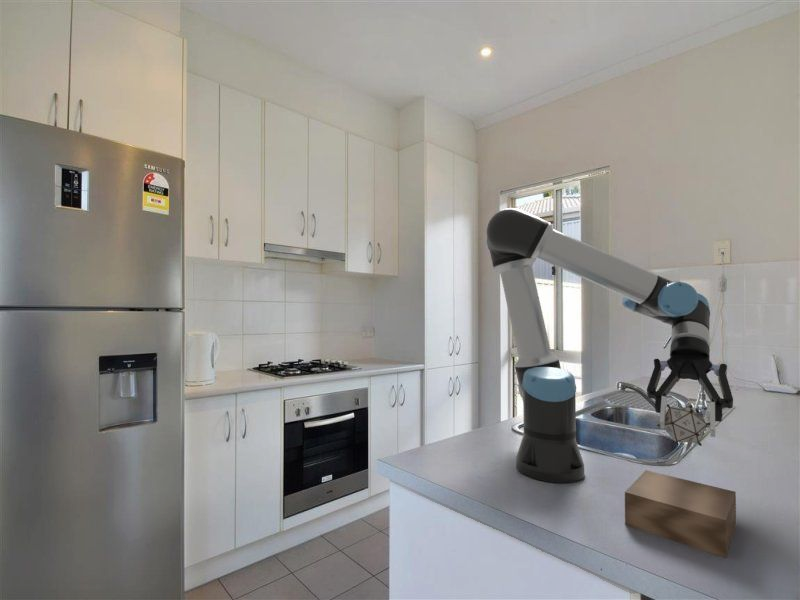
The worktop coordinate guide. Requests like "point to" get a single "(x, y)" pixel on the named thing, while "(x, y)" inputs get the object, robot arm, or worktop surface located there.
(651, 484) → the walnut block
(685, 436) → the game die
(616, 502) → the worktop surface
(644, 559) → the worktop surface
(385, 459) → the worktop surface
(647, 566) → the worktop surface
